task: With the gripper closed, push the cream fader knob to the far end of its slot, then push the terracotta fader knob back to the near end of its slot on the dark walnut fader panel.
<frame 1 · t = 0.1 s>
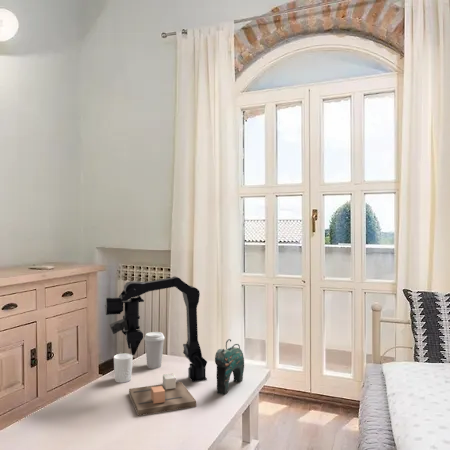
hand: (131, 351, 169), 15 cm above the table, tool pointing down, fingers open, 9 cm apart
terracotta fader: (157, 394, 152), point 4 cm above the table, slide at 7.0 cm
white cup: (123, 380, 177), on the table
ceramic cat: (229, 387, 170), on the table
coffee cup: (154, 366, 194), on the table
cream fader: (169, 381, 164), point 4 cm above the table, slide at 0.0 cm
fader panel: (161, 399, 157), on the table
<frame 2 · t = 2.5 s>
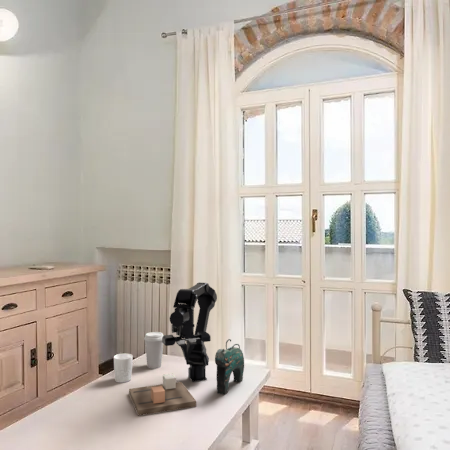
hand: (186, 359, 167), 12 cm above the table, tool pointing down, fingers closed
nothing on the table moved.
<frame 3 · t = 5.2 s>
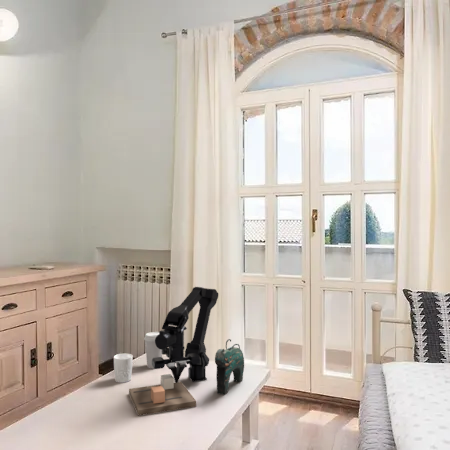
hand: (176, 382, 165), 4 cm above the table, tool pointing down, fingers closed
cream fader: (167, 381, 164), point 4 cm above the table, slide at 0.9 cm, touching gripper
everything else where it was.
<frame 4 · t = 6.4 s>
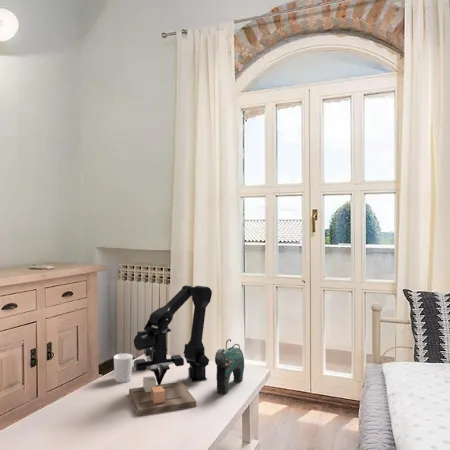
hand: (158, 384, 163), 4 cm above the table, tool pointing down, fingers closed
cream fader: (149, 384, 161), point 4 cm above the table, slide at 7.8 cm, touching gripper
everything else where it was.
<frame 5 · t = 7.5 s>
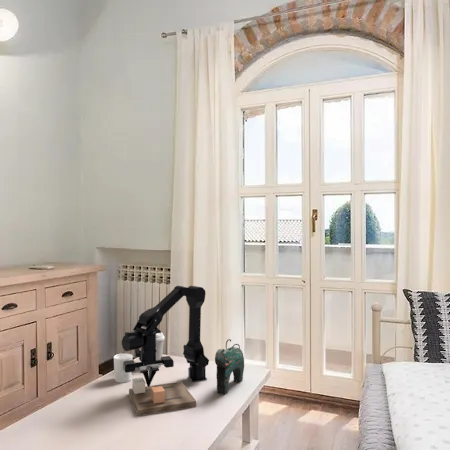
hand: (148, 386, 161), 4 cm above the table, tool pointing down, fingers closed
cream fader: (138, 385, 160), point 4 cm above the table, slide at 12.0 cm, touching gripper
everything else where it was.
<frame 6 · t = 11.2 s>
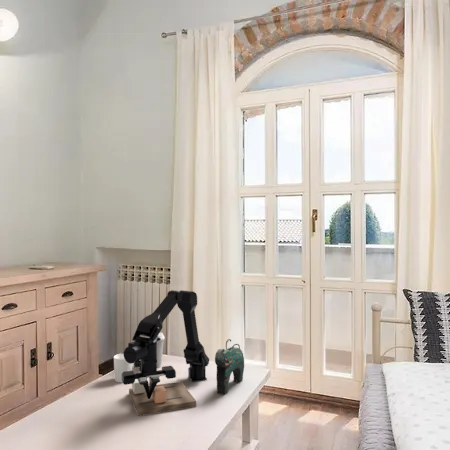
hand: (148, 398, 150), 3 cm above the table, tool pointing down, fingers closed
terracotta fader: (159, 394, 152), point 4 cm above the table, slide at 6.5 cm, touching gripper
cream fader: (138, 385, 160), point 4 cm above the table, slide at 12.0 cm
everything else where it was.
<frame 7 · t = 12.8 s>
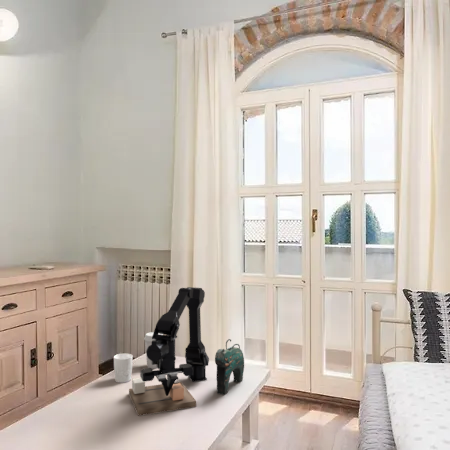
hand: (166, 395, 153), 3 cm above the table, tool pointing down, fingers closed
terracotta fader: (176, 391, 154), point 4 cm above the table, slide at 0.0 cm, touching gripper
everything else where it was.
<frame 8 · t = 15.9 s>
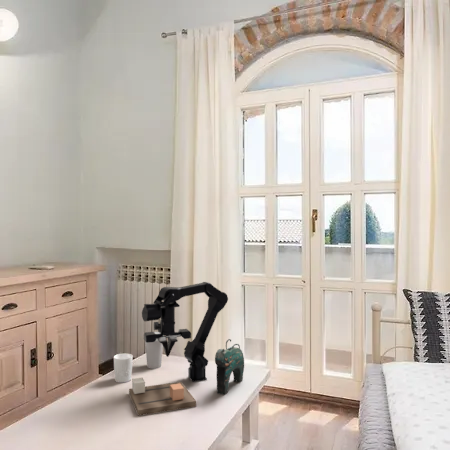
hand: (167, 356, 171), 12 cm above the table, tool pointing down, fingers closed
terracotta fader: (176, 391, 154), point 4 cm above the table, slide at 0.0 cm
everything else where it was.
at the end: cream fader slide at 12.0 cm; terracotta fader slide at 0.0 cm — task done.
